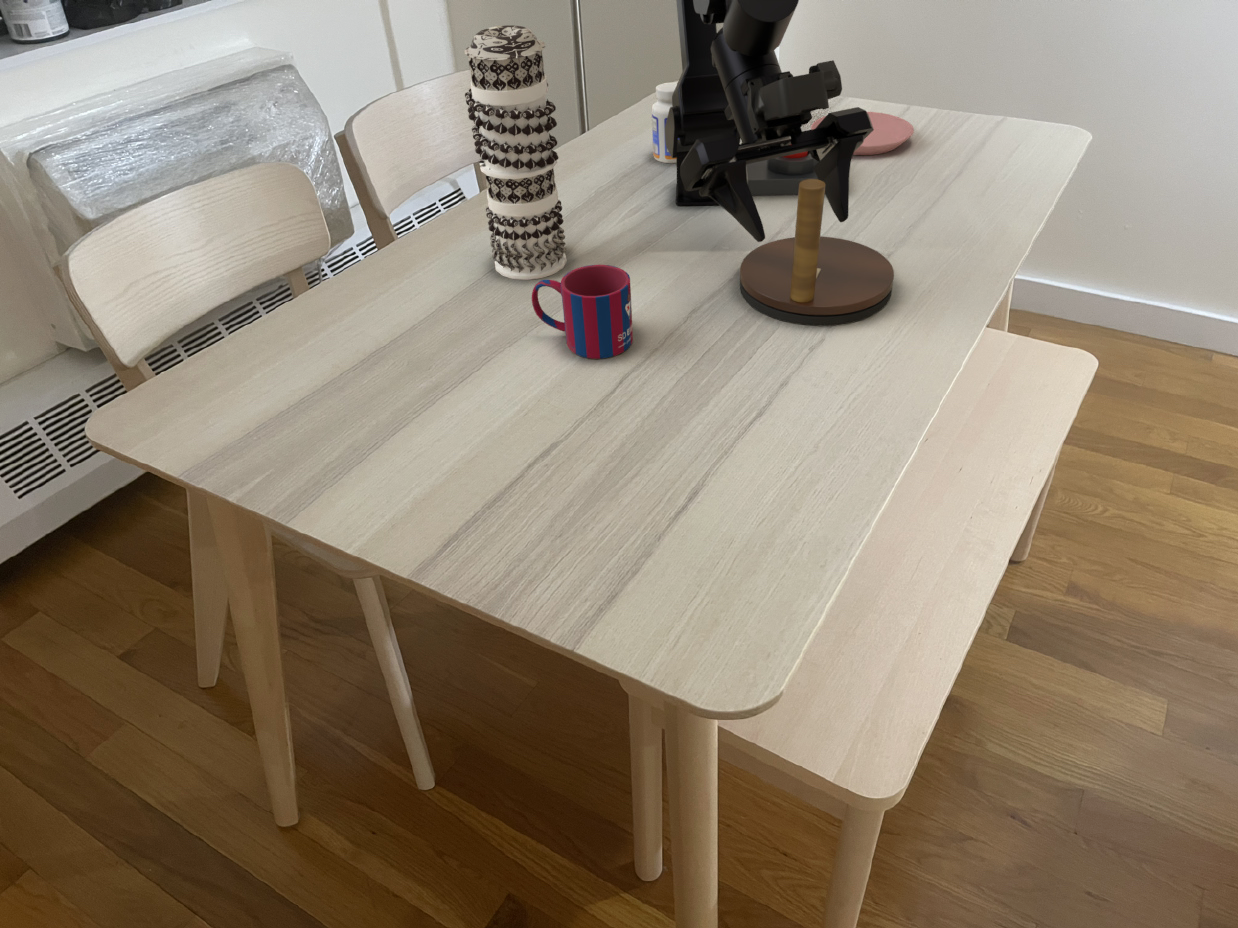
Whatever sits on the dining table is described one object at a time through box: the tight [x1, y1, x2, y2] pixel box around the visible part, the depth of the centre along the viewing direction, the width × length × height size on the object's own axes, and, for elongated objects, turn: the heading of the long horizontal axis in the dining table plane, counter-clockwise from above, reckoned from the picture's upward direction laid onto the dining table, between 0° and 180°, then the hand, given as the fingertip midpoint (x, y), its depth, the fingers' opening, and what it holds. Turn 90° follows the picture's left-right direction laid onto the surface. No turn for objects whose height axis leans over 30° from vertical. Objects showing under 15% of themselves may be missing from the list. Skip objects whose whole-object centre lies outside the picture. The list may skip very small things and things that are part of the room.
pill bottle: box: [651, 81, 679, 164], centre depth 124 cm, size 5×5×10 cm
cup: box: [531, 264, 634, 360], centre depth 88 cm, size 7×10×7 cm
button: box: [783, 144, 808, 158], centre depth 115 cm, size 4×4×2 cm
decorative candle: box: [464, 24, 568, 281], centre depth 96 cm, size 9×9×25 cm
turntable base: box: [739, 279, 893, 327], centre depth 95 cm, size 16×16×1 cm
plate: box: [810, 110, 915, 156], centre depth 127 cm, size 14×14×2 cm
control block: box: [746, 151, 826, 197], centre depth 117 cm, size 12×9×4 cm
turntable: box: [739, 179, 895, 315], centre depth 91 cm, size 16×16×13 cm
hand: (803, 230), depth 86 cm, fingers open, 9 cm apart
